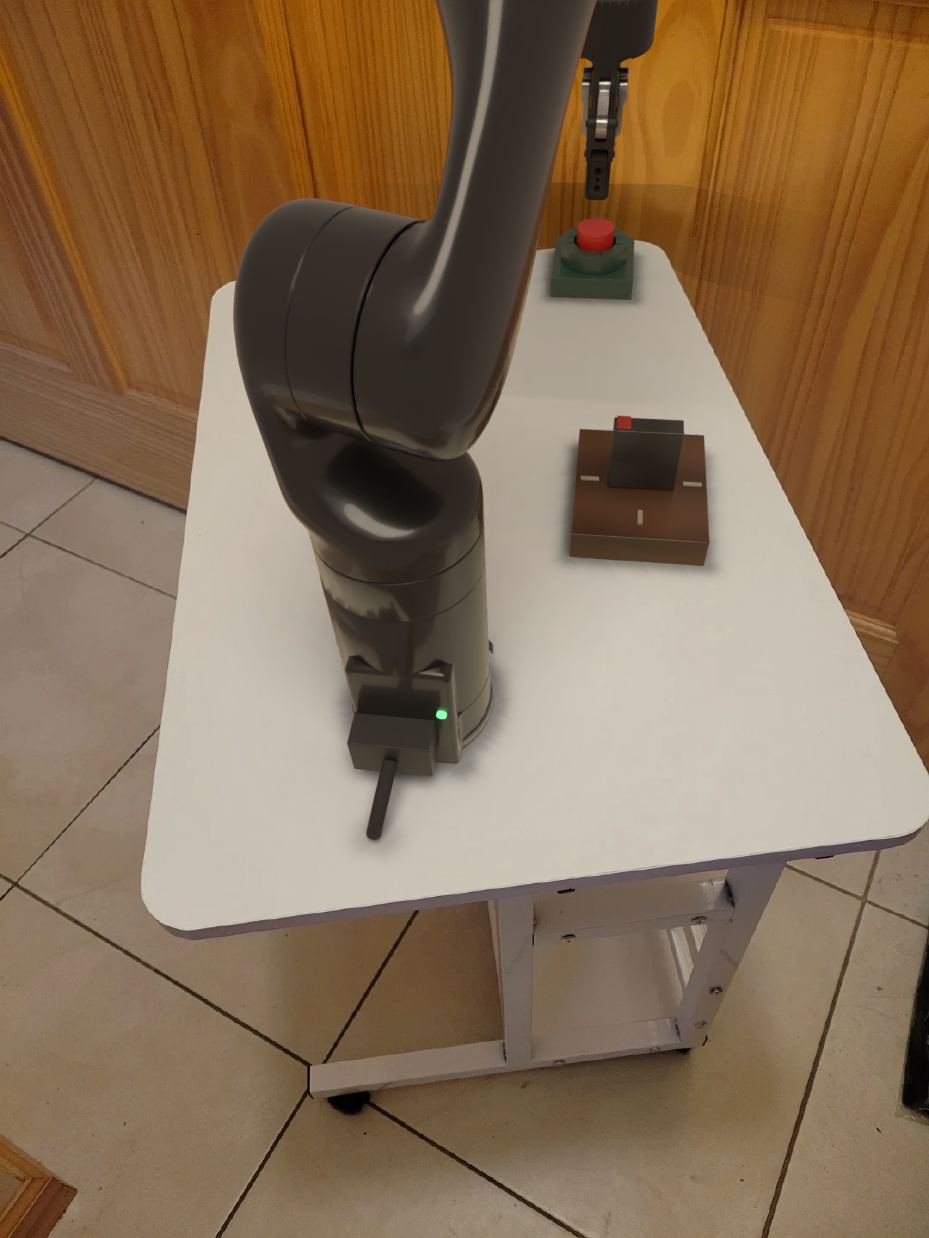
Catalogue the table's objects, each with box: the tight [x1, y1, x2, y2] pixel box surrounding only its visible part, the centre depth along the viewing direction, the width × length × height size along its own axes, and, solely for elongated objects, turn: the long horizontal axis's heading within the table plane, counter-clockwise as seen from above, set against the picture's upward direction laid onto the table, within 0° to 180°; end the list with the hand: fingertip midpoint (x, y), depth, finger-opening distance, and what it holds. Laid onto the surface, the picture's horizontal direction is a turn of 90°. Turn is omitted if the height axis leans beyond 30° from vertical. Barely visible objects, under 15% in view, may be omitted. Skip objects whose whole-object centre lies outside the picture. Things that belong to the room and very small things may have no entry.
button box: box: [550, 225, 635, 301], centre depth 90 cm, size 8×8×4 cm
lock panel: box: [568, 428, 710, 566], centre depth 70 cm, size 12×10×3 cm
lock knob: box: [608, 415, 685, 490], centre depth 67 cm, size 5×2×6 cm, turn 83°
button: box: [577, 217, 615, 251], centre depth 88 cm, size 4×4×2 cm
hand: (596, 196), depth 85 cm, fingers closed
